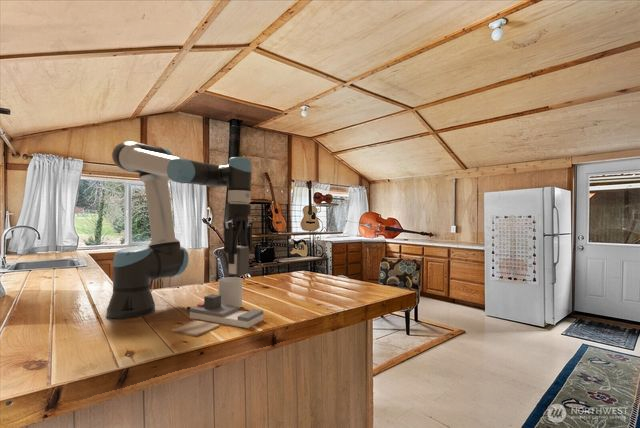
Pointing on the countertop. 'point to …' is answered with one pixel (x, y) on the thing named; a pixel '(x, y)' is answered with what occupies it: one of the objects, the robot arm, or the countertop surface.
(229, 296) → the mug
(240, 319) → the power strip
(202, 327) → the coaster
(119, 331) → the countertop surface
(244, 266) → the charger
